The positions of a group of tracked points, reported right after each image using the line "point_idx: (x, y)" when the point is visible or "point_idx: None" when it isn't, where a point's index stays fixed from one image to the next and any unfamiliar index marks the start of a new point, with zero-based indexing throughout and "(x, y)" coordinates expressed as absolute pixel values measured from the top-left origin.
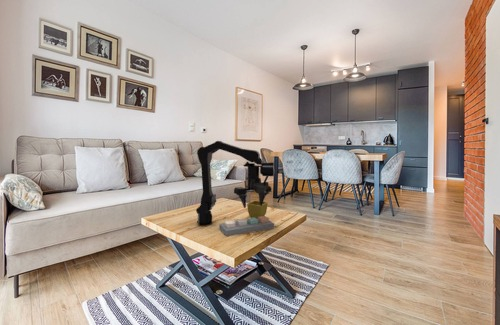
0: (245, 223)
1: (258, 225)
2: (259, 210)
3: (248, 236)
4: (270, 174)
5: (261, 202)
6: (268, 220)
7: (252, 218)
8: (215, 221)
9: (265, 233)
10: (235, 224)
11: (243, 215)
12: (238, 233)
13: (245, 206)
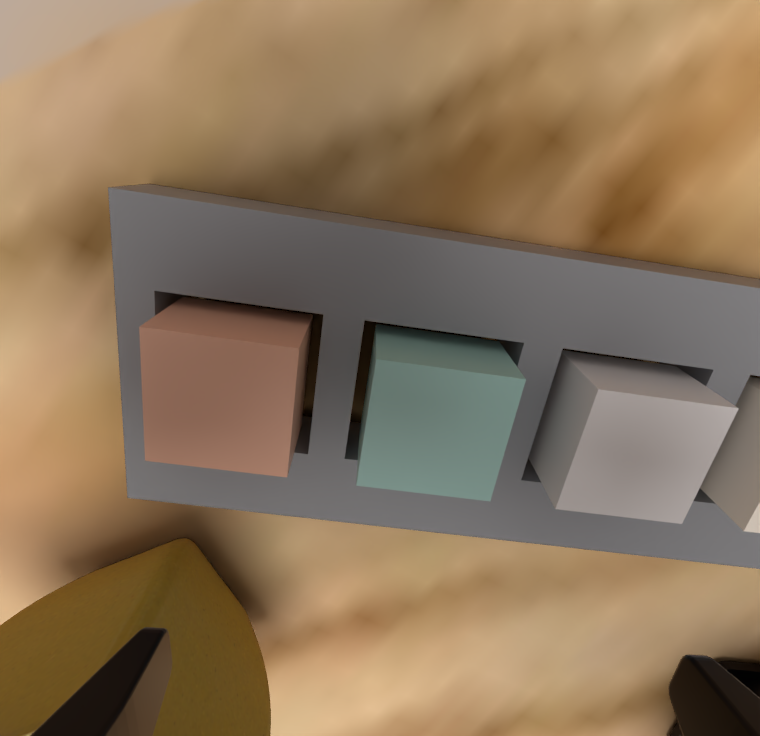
0: (609, 379)
1: (431, 250)
2: None
3: (693, 123)
4: None
5: (103, 731)
6: (159, 314)
7: (418, 458)
8: (627, 702)
9: (405, 71)
10: None
11: None
12: (742, 276)
13: (729, 694)
